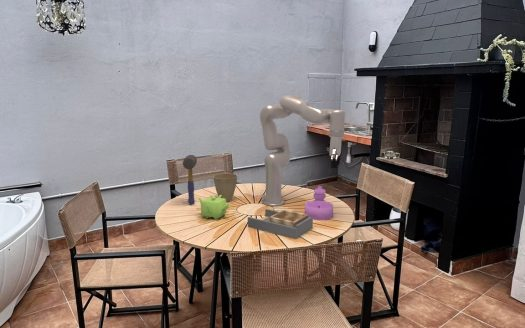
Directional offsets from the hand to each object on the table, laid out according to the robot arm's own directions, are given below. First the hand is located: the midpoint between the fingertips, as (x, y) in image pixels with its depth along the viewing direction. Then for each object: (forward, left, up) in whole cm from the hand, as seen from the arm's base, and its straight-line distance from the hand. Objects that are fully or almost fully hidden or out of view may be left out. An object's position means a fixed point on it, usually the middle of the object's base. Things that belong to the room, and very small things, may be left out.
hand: (335, 166), depth 198 cm
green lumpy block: (-56, -33, -29) cm, 71 cm away
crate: (-12, -27, -28) cm, 41 cm away
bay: (-17, -27, -29) cm, 43 cm away
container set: (-11, +6, -29) cm, 32 cm away
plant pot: (-70, -6, -29) cm, 76 cm away
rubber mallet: (-82, -24, -29) cm, 90 cm away
